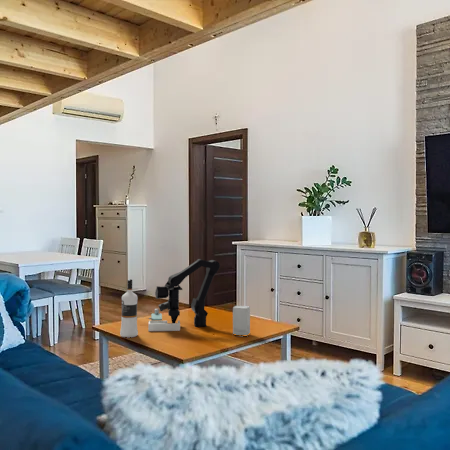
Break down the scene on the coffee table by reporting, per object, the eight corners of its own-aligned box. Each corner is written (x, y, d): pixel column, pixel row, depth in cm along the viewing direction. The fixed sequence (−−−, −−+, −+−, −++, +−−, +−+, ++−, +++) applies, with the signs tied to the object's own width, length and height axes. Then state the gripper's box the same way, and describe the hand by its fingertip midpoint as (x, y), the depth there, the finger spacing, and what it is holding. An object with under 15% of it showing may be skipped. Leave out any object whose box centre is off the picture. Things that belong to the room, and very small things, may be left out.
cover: (148, 315, 279) (149, 308, 279) (161, 315, 280) (161, 308, 280) (148, 320, 264) (148, 313, 264) (162, 320, 265) (162, 313, 265)
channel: (179, 327, 268) (179, 320, 268) (180, 330, 261) (180, 323, 261) (148, 327, 266) (148, 320, 266) (148, 331, 258) (148, 323, 258)
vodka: (139, 337, 246) (140, 280, 245) (122, 338, 242) (123, 280, 241) (135, 332, 254) (136, 277, 253) (118, 334, 250) (119, 278, 250)
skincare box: (250, 334, 256) (250, 306, 255) (246, 337, 249) (247, 308, 249) (235, 332, 258) (236, 304, 258) (232, 335, 252) (232, 307, 252)
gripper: (159, 295, 275) (158, 321, 276) (159, 300, 257) (159, 329, 257) (178, 294, 277) (177, 321, 277) (180, 300, 258) (179, 328, 259)
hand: (173, 324), depth 268 cm, fingers closed
